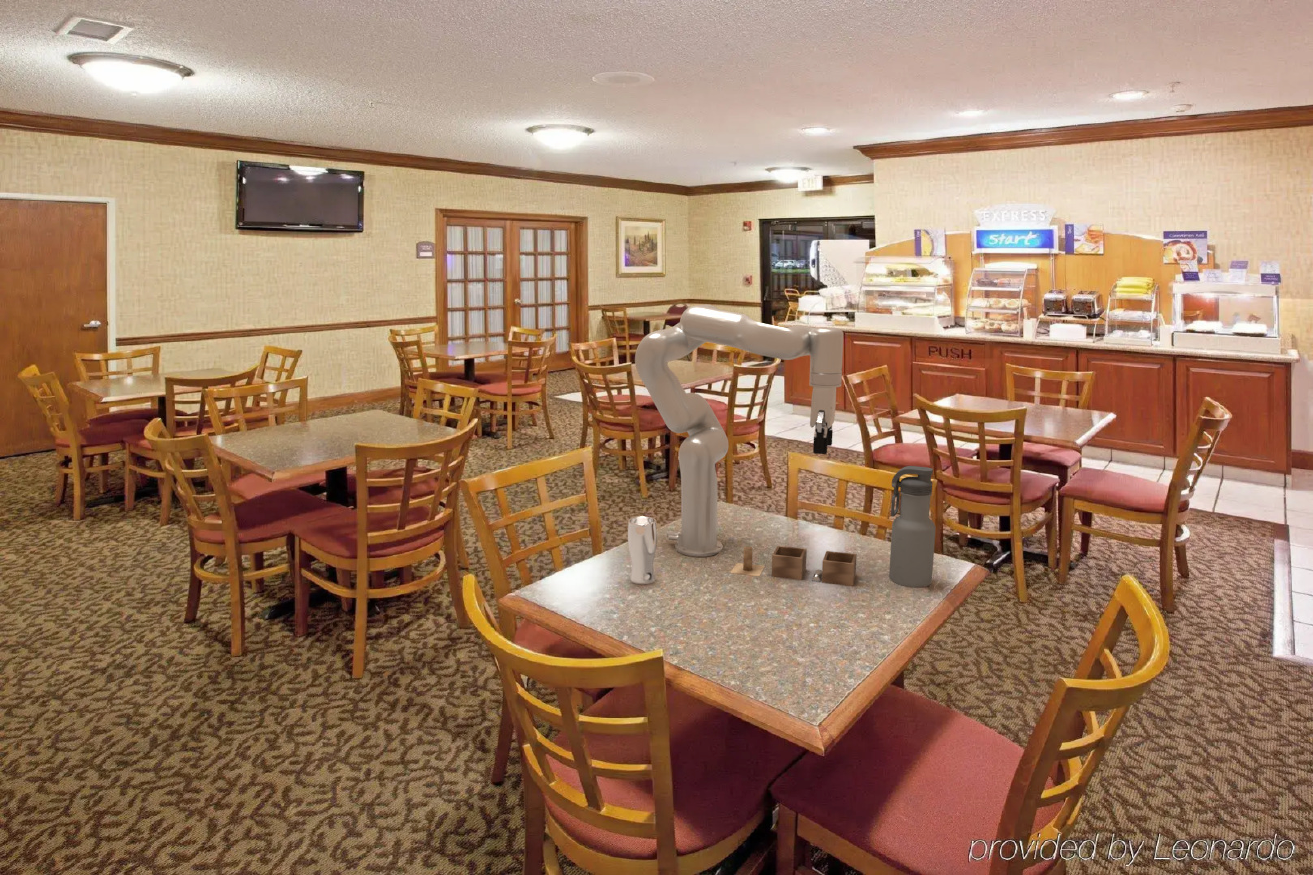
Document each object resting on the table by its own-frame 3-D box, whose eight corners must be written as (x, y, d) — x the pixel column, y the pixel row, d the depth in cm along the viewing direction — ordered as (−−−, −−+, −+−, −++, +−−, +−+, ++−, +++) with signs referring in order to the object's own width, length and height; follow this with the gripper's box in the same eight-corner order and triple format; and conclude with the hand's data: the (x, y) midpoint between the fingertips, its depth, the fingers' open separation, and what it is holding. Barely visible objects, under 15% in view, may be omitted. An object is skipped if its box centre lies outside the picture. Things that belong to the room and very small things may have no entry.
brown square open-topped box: (821, 584, 189) (822, 560, 188) (825, 574, 196) (826, 550, 195) (852, 588, 187) (853, 564, 186) (855, 577, 194) (856, 554, 192)
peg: (810, 583, 190) (819, 585, 190) (812, 575, 190) (820, 578, 189) (813, 575, 195) (822, 578, 194) (815, 568, 194) (823, 570, 194)
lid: (730, 576, 195) (730, 551, 194) (736, 566, 202) (736, 541, 201) (759, 580, 193) (759, 554, 192) (764, 569, 200) (765, 544, 199)
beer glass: (623, 582, 191) (622, 522, 188) (637, 572, 197) (636, 514, 194) (648, 587, 188) (648, 526, 185) (662, 577, 194) (661, 518, 191)
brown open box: (771, 578, 193) (772, 555, 192) (777, 568, 200) (777, 545, 199) (801, 582, 191) (802, 558, 190) (805, 571, 197) (806, 548, 196)
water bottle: (883, 584, 189) (889, 470, 183) (891, 571, 198) (898, 461, 192) (927, 592, 184) (935, 475, 179) (934, 578, 193) (942, 466, 187)
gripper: (814, 374, 200) (812, 441, 204) (804, 383, 184) (801, 456, 188) (845, 375, 198) (842, 443, 201) (837, 385, 182) (834, 458, 185)
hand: (822, 449), depth 195 cm, fingers open, 9 cm apart
